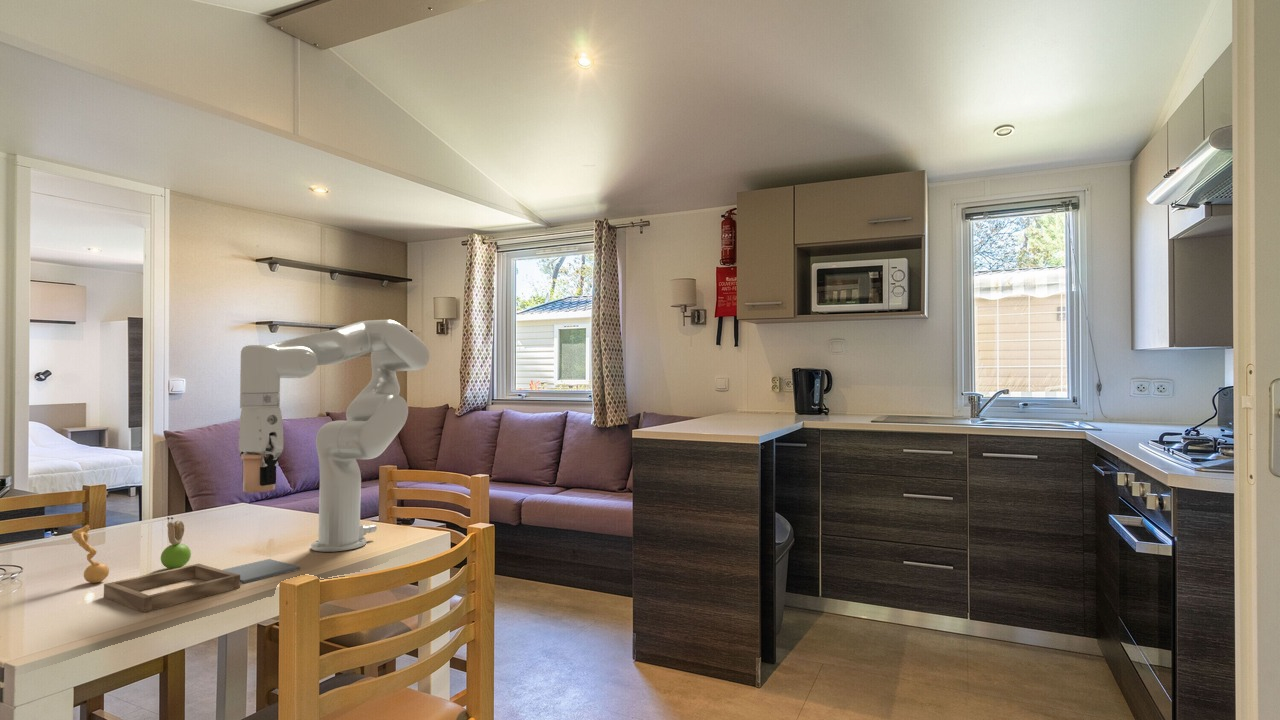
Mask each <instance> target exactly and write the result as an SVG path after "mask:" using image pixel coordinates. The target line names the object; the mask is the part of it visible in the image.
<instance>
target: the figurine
mask: <svg viewBox="0 0 1280 720" xmlns="http://www.w3.org/2000/svg"><path fill="white" fill-rule="evenodd" d="M90 531H91V528H90V525H88V524H86V525H84V526H83V527H81V528H77V529H75V530H73V531H72V532H71V537H72V539H73V540H74V541H75V542H76V543H77V544H78V546H79V547H81V548H82V549H84V551H86V552H87V553H88V554H86V559H87V561H88V562H89V564H90V565H89V566H87V567H86V568H85V570H84V572H83V578H84V580H85V581H86V582H88V583H89V584H98V583H101V582H104V580H105V579H107V578H108V576H109V573H110V569H109V566H108V565H106V564H105V563H102V562H98V561H94V560H93V559H92V558H94V557H95V555H96V554H97V552H98V551H97V550H96V549H95V548H94V547H93V546H92V545H90V544H89V536H90V535H89V532H90Z"/></svg>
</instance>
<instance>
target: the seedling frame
mask: <svg viewBox="0 0 1280 720" xmlns="http://www.w3.org/2000/svg"><path fill="white" fill-rule="evenodd" d="M191 579H198V580H200V581H201V580H202V581H203V582H199V583H195V584H191V585H186V586H182V587H179V588H174V589H170V590H166V591H162V592H161V591H160V592H157V593H153V594H146V593H144V592H140V591H144V590H148V589H152V588H157V587H161V586H165V585H169V584H174V583H178V582H182V581H186V580H191ZM240 588H241V583H240V575H239V574H235V573H231V572H228V571H224V570H223V569H220V568H216V567H212V566H208V565H204V564H203V563H195V564H191V565H184V566H182V567H180V568H176V569H168V570H163V571H158V572H153V573H149V574H144V575H139V576H136V577H131V578H130V577H129V578H125V579H121V580H116V581H111V582H106V583H104V584H103V598H104V599H107V600H110V601H112V602H115V603H118V604H120V605H123V606H124V607H125V606H126V607H128V608H131V609H133V610H135V611H139V612H141V613H149V612H151V611H154V610H156V611H157V610H159V609H162V608H167V607H171V606H175V605H179V604H182V603H185V602H190V601H193V600H197V599H201V598H205V597H209V596H213V595H217V594H220V593H223V592H224V593H225V592H229V591H233V590H237V589H240Z"/></svg>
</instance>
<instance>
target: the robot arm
mask: <svg viewBox="0 0 1280 720" xmlns="http://www.w3.org/2000/svg"><path fill="white" fill-rule="evenodd" d="M369 353H371V354H370V364H371V379H370V380H369V382H368V383H367V384H366V385H365V387H364V388H363V389H362V390H361V391H360V392H359V394H358V395H357V396H356V397H355V398H354V399H353V400H352V401H351V402H350V403H349V405H348V406H347V409H346V412H345V417H346V420H342V419H340V420H333V421H329V422H327V423H325V424H323V425H322V426H321V427H320V428H319V429H318V431H317V433H316V436H315V437H316V438H315V446H316V452H317V456H318V465H319V488H318V489H319V492H318V494H319V498H318V499H319V502H318V509H319V510H318V538H317V539H318V540H315V541H313V542H311V544H310V548H311V550H313V551H316V552H320V553H321V552H325V553H329V552H335V553H336V552H343V551H349V550H350V551H351V550H354V549H355V550H356V549H358V548H361V547H363V546H365V545H366V544H367V538H366V537H364V536H365V535H367V534H371V533H375V532H377V525H376V524H370V525H367V526H366V525H365V524H361V498H362V497H361V489H362V488H361V487H362V475H361V469H360V466H359V463H358V461H357V460H373V459H376V458H377V457H379V456H381V455H382V454H383V453H384V452H385V450H386V449H387V448H388V447H389V445H390V444H392V442H393V441H394V440H395V438H396V436H397V435H398V434H399V433H400V431H402V429H403V427H404V426H405V424H406V422H407V419H408V416H409V405H408V403H407V401H406V400H405V398H404V397H402V396H401V395H400V392H401V387H400V383H399V380H398V377H397V372H405V371H406V372H410V371H411V372H415V371H420V370H423V369H425V367H427V366H428V364H429V361H430V351H429V348H428V346H427V344H426V343H425V342H424V341H423V340H421V338H420V337H418V336H417V335H415V334H414V333H413V332H412V331H410V330H409V329H408V328H407V327H406V326H405V325H402V324H401V323H400V322H397V321H395V320H393V319H373V320H372V319H371V320H369V319H368V320H363V321H362V320H361V321H358V322H354V323H350V324H347V325H345V326H341V327H338V328H335V329H331V330H327V331H322V332H316V333H313V334H309V335H304V336H299V337H295V338H291V339H286V340H282V341H279V342H276V343H272V344H267V345H266V344H250V345H248V344H247V345H245V346H243V347H242V349H241V351H240V370H239V371H240V377H239V381H240V384H239V385H240V386H239V388H240V389H239V392H240V393H239V409H241V410H240V415H239V425H238V446H237V450H238V453H239V455H240V457H241V454H245V453H255V454H260V455H261V463H262V467H260V485H261V486H265V485H272V484H275V485H276V483H277V466H278V464H279V462H278V461H279V459H280V457H281V455H282V453H283V450H284V446H285V445H284V444H285V443H284V439H285V438H284V425H283V424H284V422H283V415H282V410H281V405H280V404H281V403H280V402H281V400H280V398H281V379H301V378H302V379H303V378H306V377H309V376H311V375H312V374H313V373H314V372H315V371H316V369H317V367H318V366H327V365H328V366H329V365H335V364H340V363H341V364H342V363H344V362H346V361H349V360H353V359H354V358H358V357H360V356H364V355H366V354H369ZM266 455H269V456H268V458H267V459H266ZM241 464H242V466H243V459H241Z"/></svg>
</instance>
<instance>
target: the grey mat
mask: <svg viewBox="0 0 1280 720" xmlns="http://www.w3.org/2000/svg"><path fill="white" fill-rule="evenodd" d="M300 569H301V566H299V565H296V564H291V563H287V562H283V561H280V560H275V559H271V558H268V559H262V560H259V561H255V562H251V563H247V564H246V563H245V564H242V565H237V566H232V567H228V568H224V569H222V570H224V571H228V572H231V573H235V574H239V575H240V584H247V583H251V582H254V581H259V580H263V579H267V578H270V577H275V576H278V575H282V574H283V575H284V574H286V573H290V572H294V571H298V570H300Z"/></svg>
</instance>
